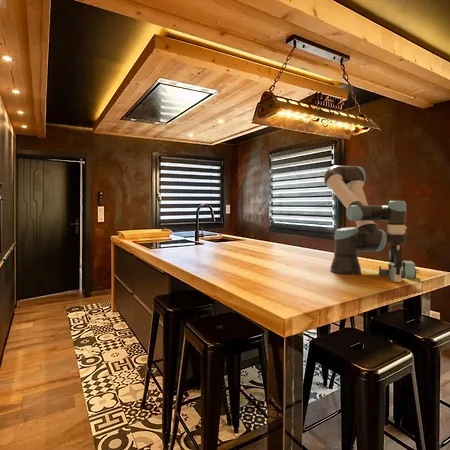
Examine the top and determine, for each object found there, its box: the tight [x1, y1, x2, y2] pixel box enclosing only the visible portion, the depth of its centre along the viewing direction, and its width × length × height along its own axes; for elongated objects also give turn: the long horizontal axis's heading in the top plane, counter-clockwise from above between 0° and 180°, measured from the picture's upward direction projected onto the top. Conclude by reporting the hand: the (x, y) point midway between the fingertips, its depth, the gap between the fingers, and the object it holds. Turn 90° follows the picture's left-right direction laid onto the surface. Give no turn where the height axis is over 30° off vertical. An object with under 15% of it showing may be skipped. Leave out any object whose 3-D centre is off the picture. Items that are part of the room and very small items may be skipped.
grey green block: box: [387, 262, 402, 282], centre depth 152 cm, size 5×8×7 cm, turn 159°
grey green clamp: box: [378, 260, 417, 280], centre depth 160 cm, size 16×8×7 cm, turn 69°
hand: (395, 278), depth 152 cm, fingers open, 13 cm apart
